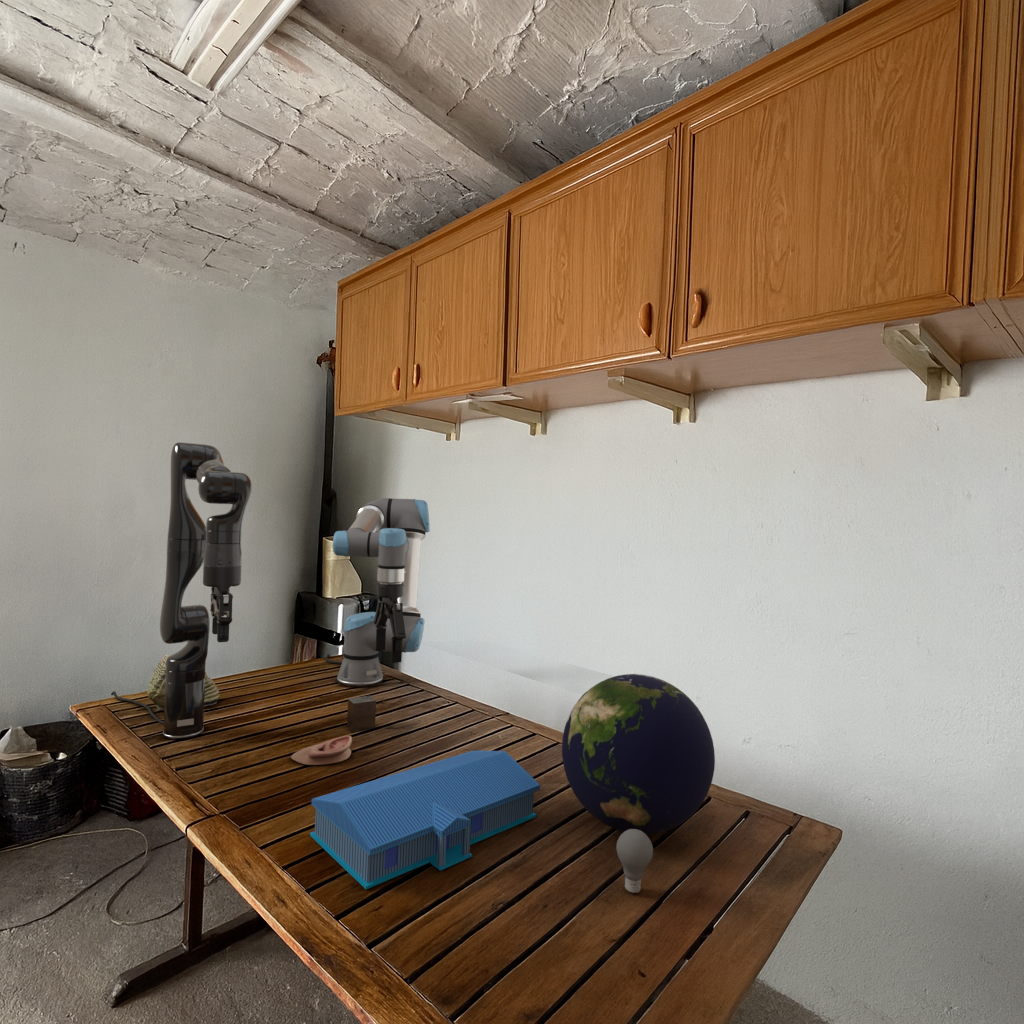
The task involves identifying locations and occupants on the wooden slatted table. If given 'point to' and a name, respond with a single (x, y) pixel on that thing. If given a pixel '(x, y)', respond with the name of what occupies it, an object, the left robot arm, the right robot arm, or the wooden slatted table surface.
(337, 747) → the anatomical model
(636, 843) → the light bulb
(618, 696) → the globe
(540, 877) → the wooden slatted table surface
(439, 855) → the model building
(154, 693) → the fossil
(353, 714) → the block
